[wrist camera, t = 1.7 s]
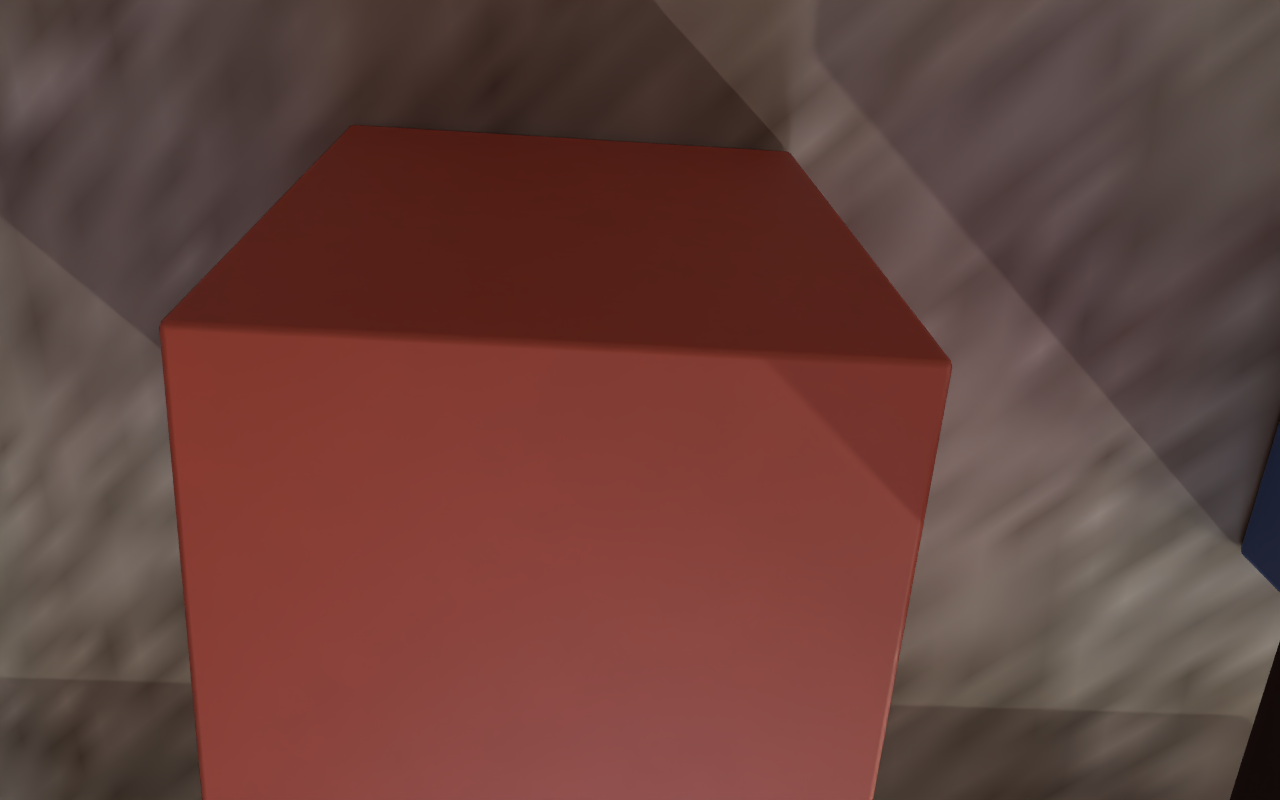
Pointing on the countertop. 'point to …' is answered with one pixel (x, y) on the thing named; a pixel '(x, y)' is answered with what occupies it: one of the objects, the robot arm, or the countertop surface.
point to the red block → (547, 478)
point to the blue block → (1266, 521)
